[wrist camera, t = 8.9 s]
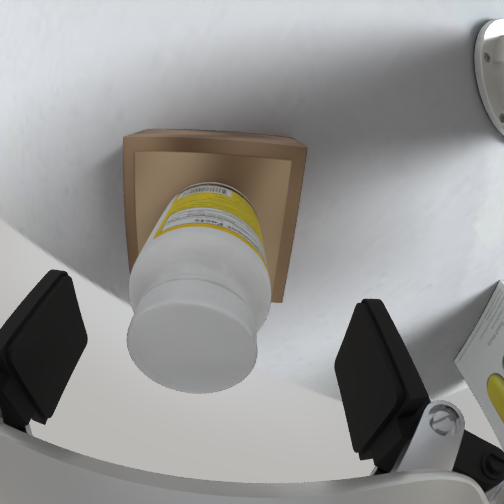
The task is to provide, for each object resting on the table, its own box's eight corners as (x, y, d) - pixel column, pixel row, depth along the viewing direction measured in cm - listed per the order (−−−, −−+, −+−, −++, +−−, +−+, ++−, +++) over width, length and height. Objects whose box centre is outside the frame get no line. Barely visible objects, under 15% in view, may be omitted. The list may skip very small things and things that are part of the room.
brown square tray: (292, 137, 20) (308, 148, 16) (274, 265, 25) (282, 305, 20) (148, 128, 19) (121, 137, 15) (149, 256, 24) (131, 293, 19)
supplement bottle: (212, 283, 19) (197, 421, 10) (146, 225, 17) (74, 343, 8) (279, 228, 18) (316, 356, 9) (212, 158, 16) (176, 236, 7)
